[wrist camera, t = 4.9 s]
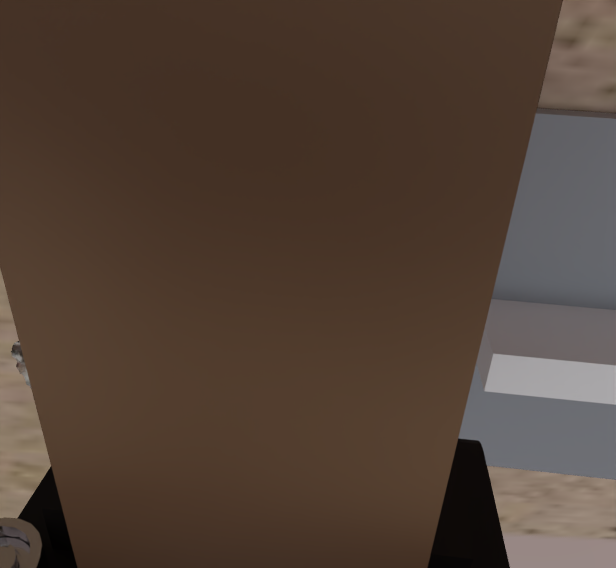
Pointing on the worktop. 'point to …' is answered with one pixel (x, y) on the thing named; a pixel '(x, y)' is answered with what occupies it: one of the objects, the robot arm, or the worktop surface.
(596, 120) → the fulcrum board
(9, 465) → the worktop surface
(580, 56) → the worktop surface
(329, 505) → the beam
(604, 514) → the worktop surface
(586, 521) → the worktop surface
